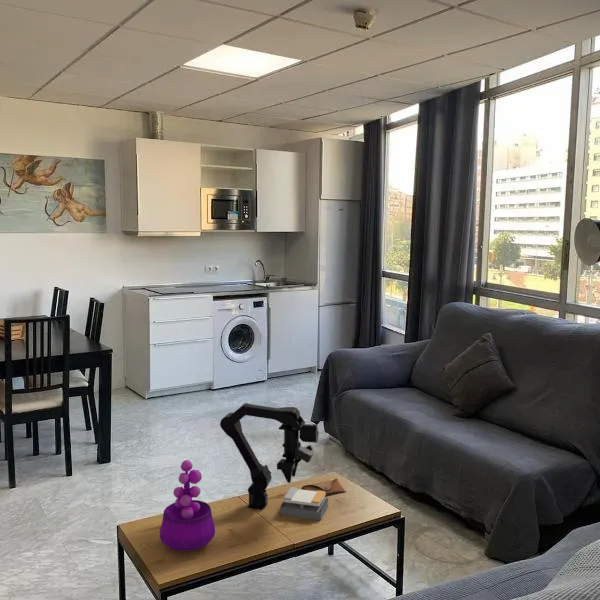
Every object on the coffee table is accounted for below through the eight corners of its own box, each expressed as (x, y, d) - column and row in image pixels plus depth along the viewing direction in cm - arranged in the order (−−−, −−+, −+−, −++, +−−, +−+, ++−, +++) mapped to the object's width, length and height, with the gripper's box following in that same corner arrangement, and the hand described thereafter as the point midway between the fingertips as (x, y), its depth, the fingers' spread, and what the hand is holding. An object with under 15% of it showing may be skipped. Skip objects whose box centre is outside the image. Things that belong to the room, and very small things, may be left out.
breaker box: (280, 514, 231) (280, 503, 231) (289, 501, 243) (289, 490, 242) (321, 520, 227) (321, 508, 226) (328, 506, 238) (328, 495, 238)
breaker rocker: (283, 501, 231) (283, 497, 231) (291, 490, 241) (291, 486, 241) (318, 506, 227) (318, 502, 227) (325, 494, 237) (325, 491, 237)
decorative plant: (191, 526, 222) (190, 447, 219) (226, 542, 210) (225, 459, 207) (148, 546, 208) (146, 461, 204) (184, 564, 196) (182, 475, 193)
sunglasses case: (311, 500, 243) (306, 484, 246) (303, 503, 249) (299, 487, 251) (348, 491, 252) (343, 475, 255) (340, 494, 258) (335, 478, 260)
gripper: (305, 450, 222) (304, 491, 224) (317, 434, 240) (317, 472, 242) (276, 447, 225) (276, 488, 227) (290, 432, 243) (290, 469, 245)
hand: (291, 479), depth 235 cm, fingers open, 6 cm apart
